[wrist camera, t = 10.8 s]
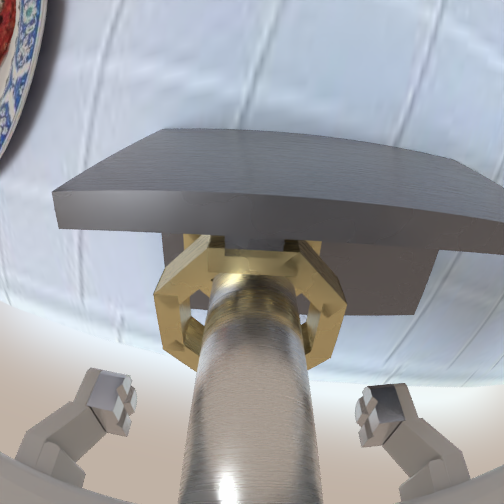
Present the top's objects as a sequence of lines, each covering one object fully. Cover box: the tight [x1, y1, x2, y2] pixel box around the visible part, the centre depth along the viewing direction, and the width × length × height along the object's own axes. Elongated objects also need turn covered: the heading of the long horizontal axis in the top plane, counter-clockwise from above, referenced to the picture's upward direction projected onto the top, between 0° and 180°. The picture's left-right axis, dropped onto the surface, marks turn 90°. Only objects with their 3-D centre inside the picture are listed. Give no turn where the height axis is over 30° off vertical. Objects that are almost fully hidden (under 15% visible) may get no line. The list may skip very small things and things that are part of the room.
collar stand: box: [52, 129, 504, 372], centre depth 16 cm, size 20×13×12 cm, turn 87°
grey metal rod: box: [178, 273, 323, 504], centre depth 13 cm, size 4×4×17 cm
